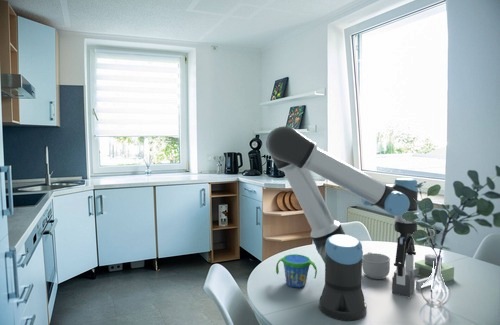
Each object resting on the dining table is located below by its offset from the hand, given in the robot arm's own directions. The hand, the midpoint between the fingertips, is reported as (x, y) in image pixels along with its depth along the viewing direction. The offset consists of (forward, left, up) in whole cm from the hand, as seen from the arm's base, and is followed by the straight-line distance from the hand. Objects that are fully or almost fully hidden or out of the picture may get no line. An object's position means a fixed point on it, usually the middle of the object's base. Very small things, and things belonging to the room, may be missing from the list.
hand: (405, 277), depth 127 cm
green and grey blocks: (+16, +3, -5) cm, 17 cm away
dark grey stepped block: (0, 0, -5) cm, 5 cm away
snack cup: (-31, +24, -5) cm, 40 cm away
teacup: (+3, +16, -5) cm, 17 cm away
